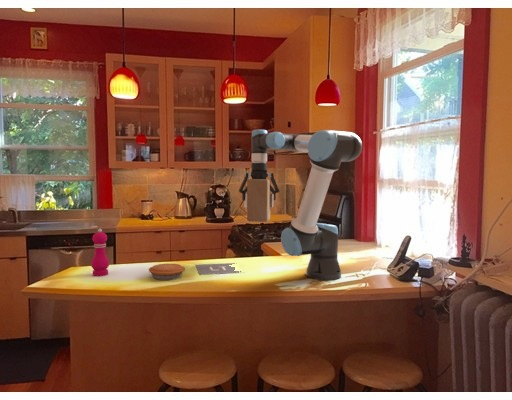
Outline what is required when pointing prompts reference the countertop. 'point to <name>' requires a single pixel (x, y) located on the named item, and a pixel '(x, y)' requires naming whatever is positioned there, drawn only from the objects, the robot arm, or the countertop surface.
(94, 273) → the pepper mill
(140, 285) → the countertop surface
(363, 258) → the countertop surface
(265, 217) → the block
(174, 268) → the pie
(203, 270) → the board
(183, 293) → the countertop surface
